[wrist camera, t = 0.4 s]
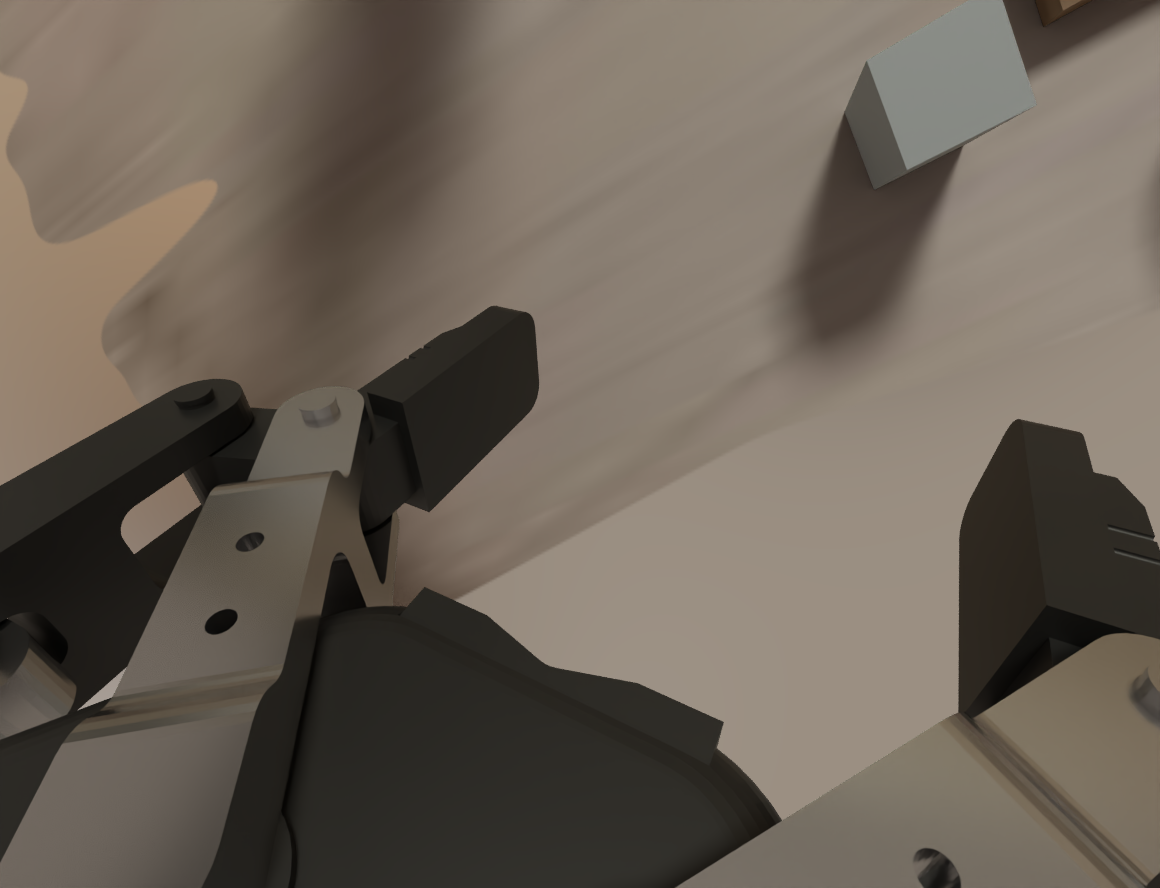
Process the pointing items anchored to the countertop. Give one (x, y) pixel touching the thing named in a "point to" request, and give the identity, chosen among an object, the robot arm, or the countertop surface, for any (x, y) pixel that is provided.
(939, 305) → the countertop surface
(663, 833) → the robot arm
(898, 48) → the slate block
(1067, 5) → the walnut board
